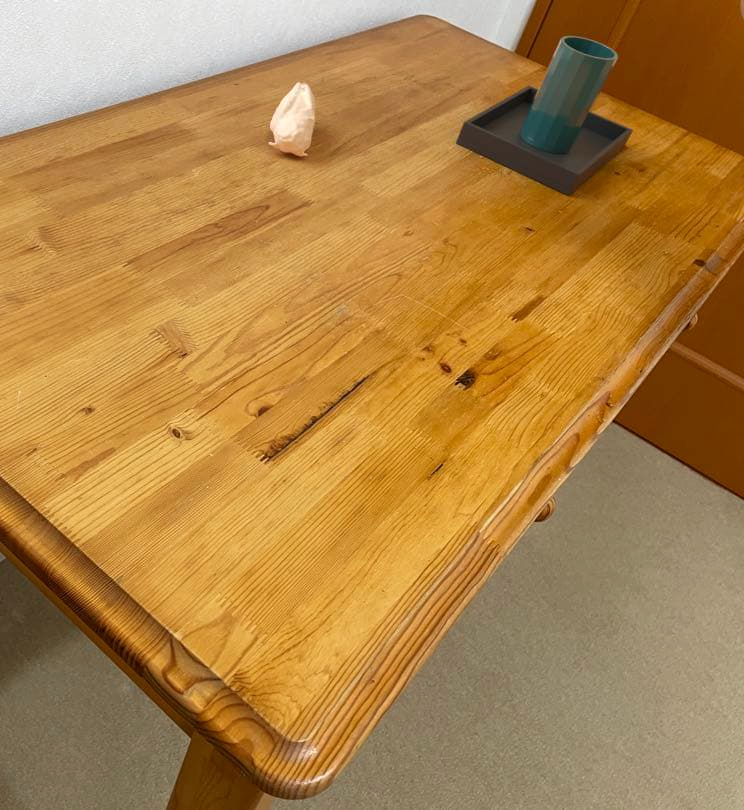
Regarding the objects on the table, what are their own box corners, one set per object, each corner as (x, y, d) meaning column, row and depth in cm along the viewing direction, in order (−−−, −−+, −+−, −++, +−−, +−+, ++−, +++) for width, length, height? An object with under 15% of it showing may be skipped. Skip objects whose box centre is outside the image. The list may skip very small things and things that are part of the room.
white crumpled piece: (261, 129, 102) (266, 147, 93) (284, 73, 99) (291, 86, 90) (299, 144, 103) (307, 164, 94) (323, 89, 100) (334, 104, 91)
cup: (558, 131, 112) (602, 40, 104) (579, 156, 107) (627, 62, 99) (511, 125, 111) (552, 32, 103) (531, 150, 106) (575, 55, 98)
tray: (520, 104, 119) (528, 85, 117) (622, 149, 114) (633, 129, 112) (455, 143, 106) (463, 121, 104) (568, 196, 100) (579, 174, 98)
